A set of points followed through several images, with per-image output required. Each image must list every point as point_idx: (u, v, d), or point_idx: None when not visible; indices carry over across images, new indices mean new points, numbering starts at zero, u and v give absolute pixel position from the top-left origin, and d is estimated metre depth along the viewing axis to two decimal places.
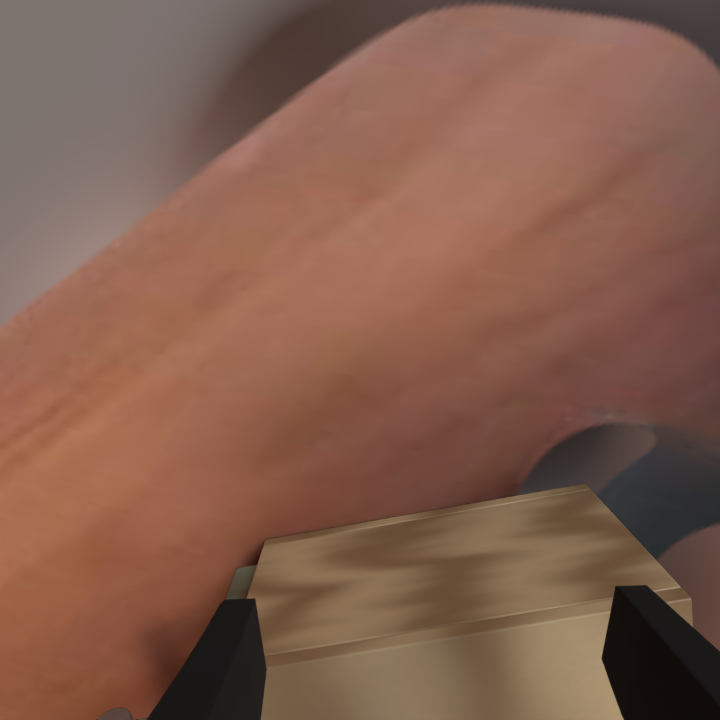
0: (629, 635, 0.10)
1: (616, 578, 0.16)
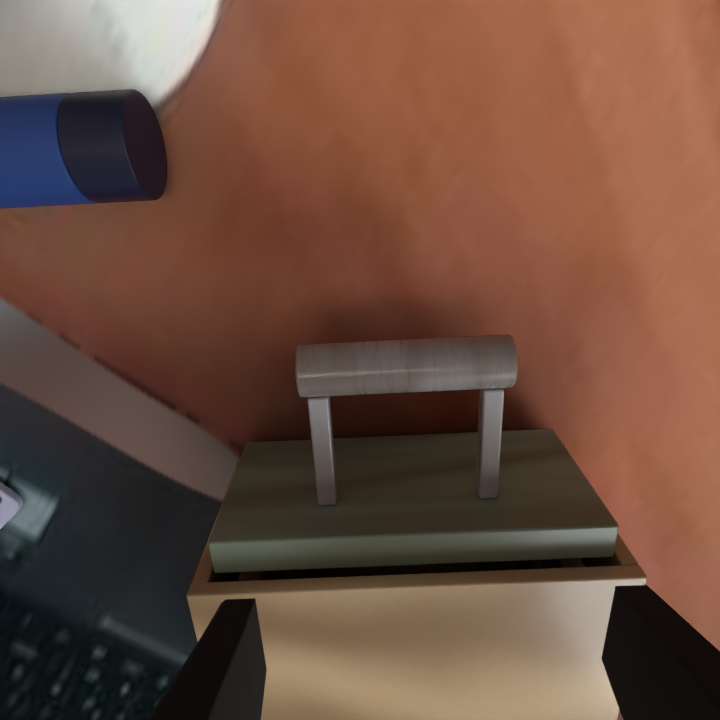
0: (629, 635, 0.10)
1: None
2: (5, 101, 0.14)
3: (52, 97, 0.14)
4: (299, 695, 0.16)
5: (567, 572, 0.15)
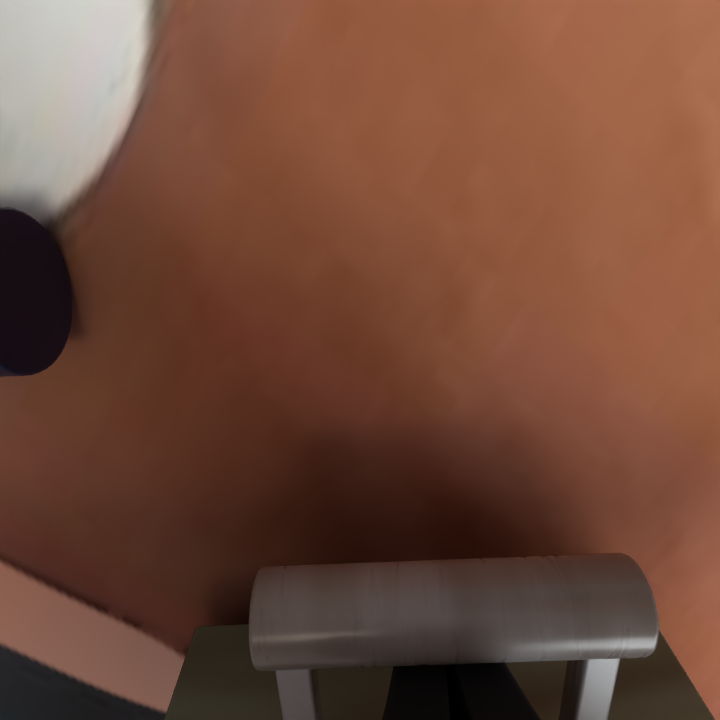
0: None
1: None
2: None
3: None
4: None
5: None
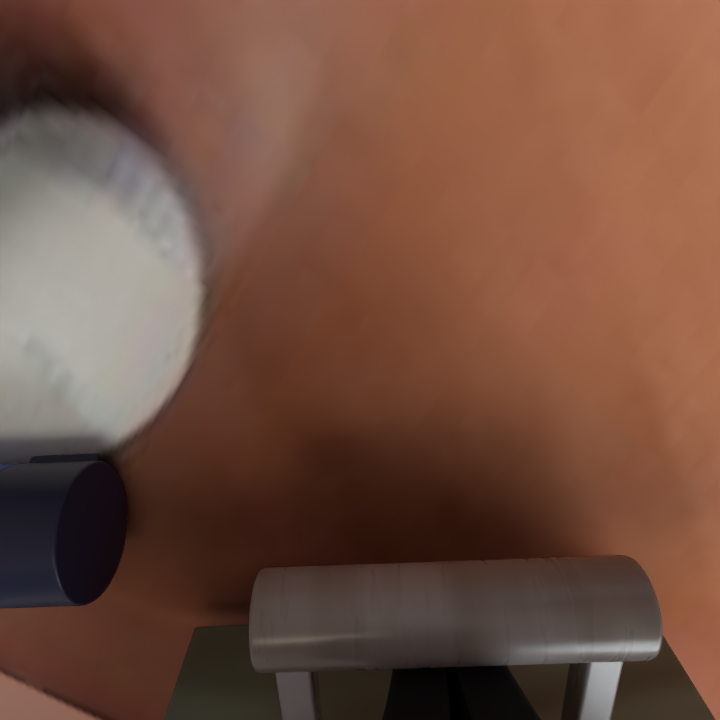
0: None
1: None
2: None
3: None
4: None
5: None
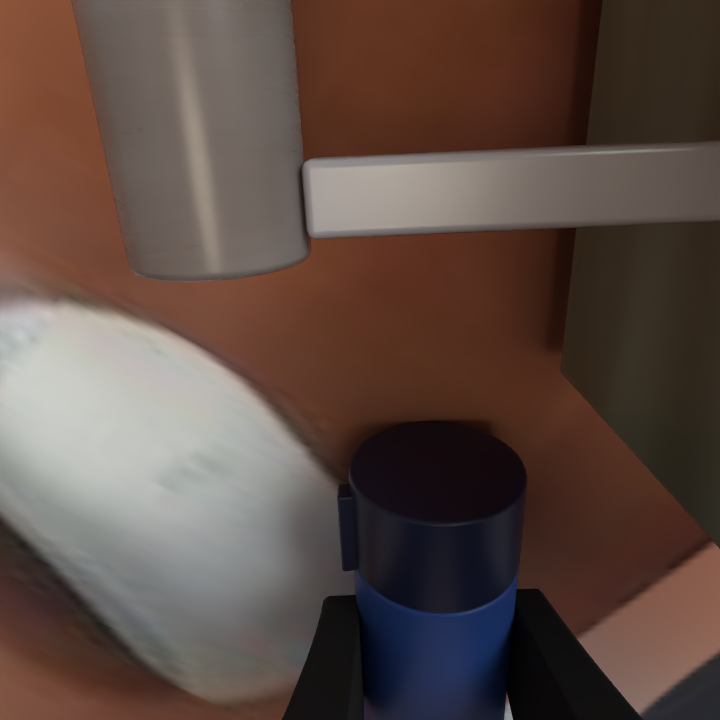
0: (515, 639, 0.10)
1: None
2: (444, 682, 0.09)
3: (438, 628, 0.08)
4: None
5: None
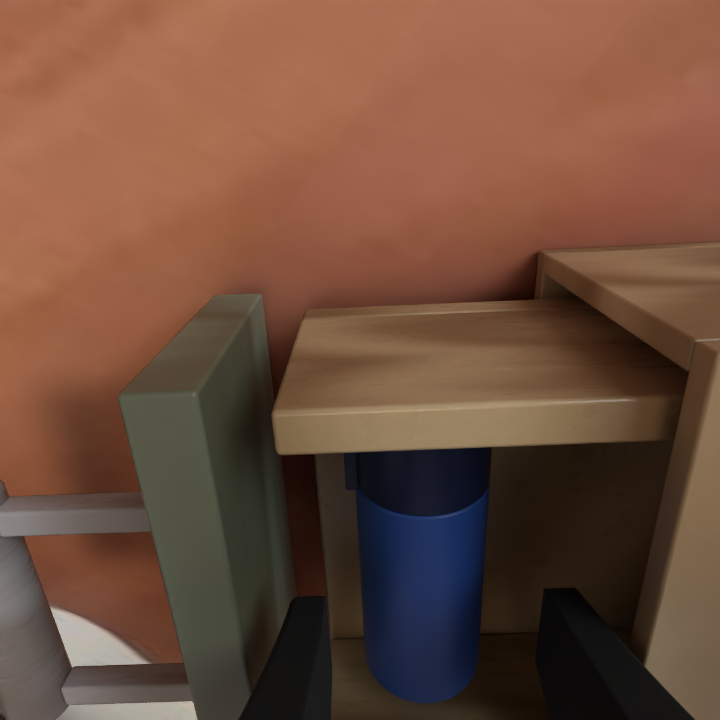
0: (554, 638, 0.10)
1: None
2: (427, 577, 0.11)
3: (422, 529, 0.10)
4: None
5: (673, 480, 0.08)
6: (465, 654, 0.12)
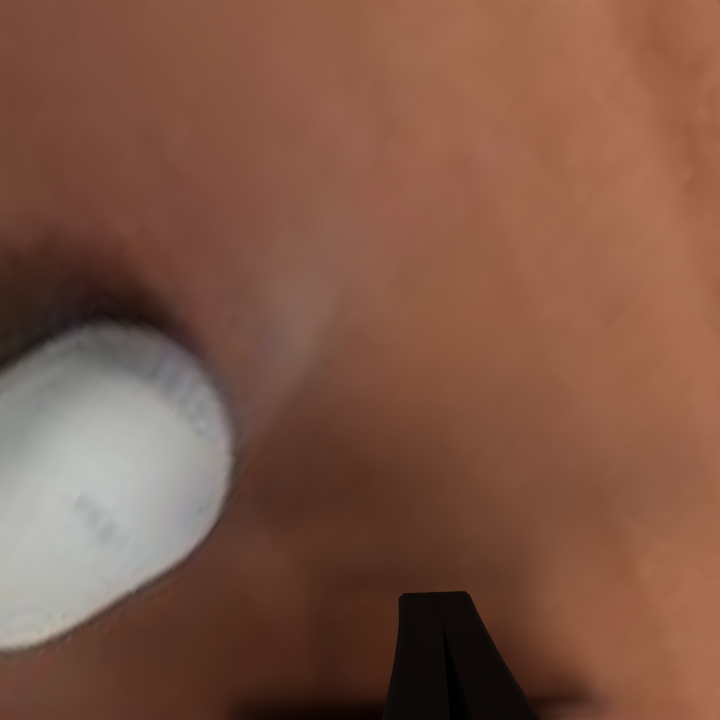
0: None
1: None
2: None
3: None
4: None
5: None
6: None
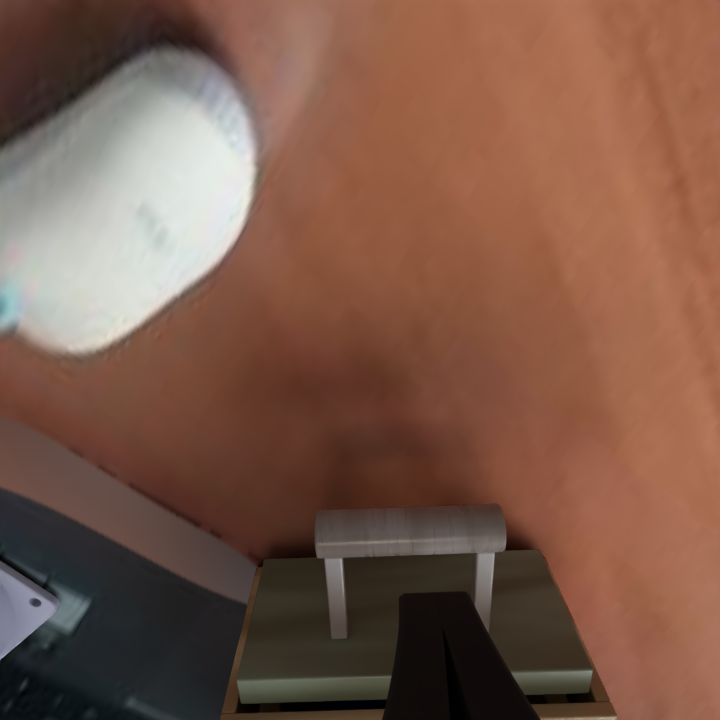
0: None
1: None
2: None
3: None
4: None
5: (549, 709, 0.17)
6: None
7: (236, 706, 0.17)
